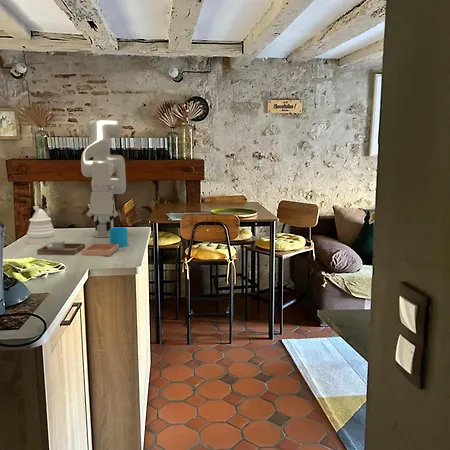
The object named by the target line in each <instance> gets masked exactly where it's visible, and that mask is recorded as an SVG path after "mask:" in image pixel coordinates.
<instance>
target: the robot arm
mask: <svg viewBox="0 0 450 450" xmlns="http://www.w3.org/2000/svg"><path fill="white" fill-rule="evenodd" d="M85 126H86V127H85V128H86V132H87V136H88V137H89V141H90V144H88V146H87V147H86V148H85V149H84V150H83V152H82V154H81V159H80V166H81V167H80V169H81V174H82V175H83V176H84V177H86V178H92V179H91V182H90V185H91V190H92V192H91V194H90V200H89V202H90V203H89V209H88V211H87V213H86V216H87V217H89V218H90V219H91V220H92V221H93V222H94V232H92V234H91V236H92V237H93V238H110V229H111V228H114V219H115V218H116V217H117V216H119V212H118V211H117V210H116V205H115V198H114V195H117V194H118V195H121V194H124V193H125V192H126V191H127V189H126V188H127V179H126V178H127V177H126V162H125V158H124V156H123V155H121V154H111V150H110V149H111V148H110V147H111V142H110V139H111V138H121V137H122V136H123V135H122V134H123V125H122V122H121V121H120V120H118V119H91V120H88V121H87V122H86V125H85ZM91 158H92V159H91ZM114 174H115V175H114ZM99 223H106V228H107V231H109V234H108V236H98V231H97V225H98V224H99Z"/></svg>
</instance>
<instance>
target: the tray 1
mask: <svg viewBox="0 0 450 450" xmlns="http://www.w3.org/2000/svg"><path fill="white" fill-rule="evenodd" d="M49 244H52V243H49ZM49 244H45V245H43V246H42V247H40V248H37V249H36V253H37V254H36V255H38V256H39V255H40V256H41V255H44V256H47V255H48V256H75V255H77V254H78V253H80V252H82V250H83V249H85V248H86V243H76V242H75V243H74V242H73V243H70V242H69V243H65V242H64V247H65V250H48V249H47V246H48V245H49Z"/></svg>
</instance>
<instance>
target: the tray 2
mask: <svg viewBox="0 0 450 450" xmlns="http://www.w3.org/2000/svg"><path fill="white" fill-rule="evenodd" d="M119 248H120V247H119V246H118V244H110V243H91V244H90V245H88V246H86V247H85V249H83V250H82V251H81V256H102V257H111V256H112V255H114V254H115V253H116V252H117V251H119Z"/></svg>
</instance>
